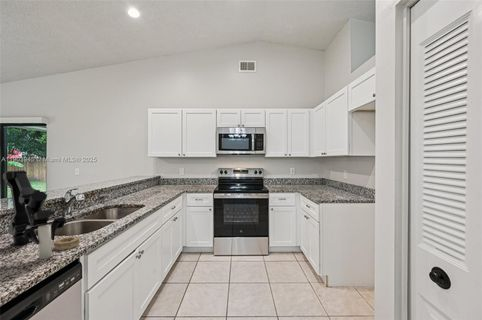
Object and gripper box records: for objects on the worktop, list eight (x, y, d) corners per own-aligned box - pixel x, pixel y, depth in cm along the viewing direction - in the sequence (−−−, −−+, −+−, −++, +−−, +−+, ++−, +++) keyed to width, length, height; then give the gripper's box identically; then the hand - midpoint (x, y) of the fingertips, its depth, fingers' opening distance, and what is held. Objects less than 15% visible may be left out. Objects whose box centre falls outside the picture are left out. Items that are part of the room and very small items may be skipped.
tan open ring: (49, 248, 120) (49, 242, 120) (68, 241, 130) (68, 235, 130) (65, 250, 118) (65, 244, 117) (83, 243, 127) (83, 237, 127)
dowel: (36, 258, 109) (35, 227, 108) (46, 254, 113) (45, 224, 113) (43, 259, 108) (42, 228, 107) (54, 255, 112) (53, 225, 112)
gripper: (13, 207, 104) (23, 237, 98) (63, 200, 120) (74, 226, 114) (7, 223, 108) (17, 253, 103) (57, 214, 124) (67, 239, 118)
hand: (46, 242), depth 109 cm, fingers open, 5 cm apart
